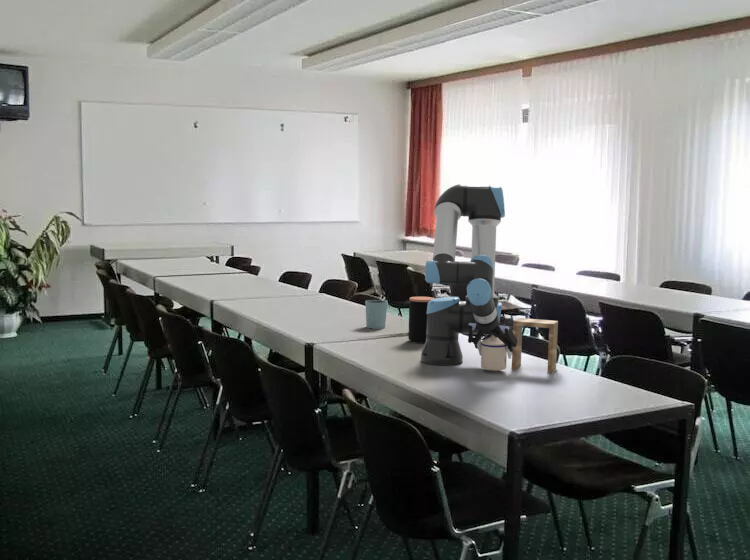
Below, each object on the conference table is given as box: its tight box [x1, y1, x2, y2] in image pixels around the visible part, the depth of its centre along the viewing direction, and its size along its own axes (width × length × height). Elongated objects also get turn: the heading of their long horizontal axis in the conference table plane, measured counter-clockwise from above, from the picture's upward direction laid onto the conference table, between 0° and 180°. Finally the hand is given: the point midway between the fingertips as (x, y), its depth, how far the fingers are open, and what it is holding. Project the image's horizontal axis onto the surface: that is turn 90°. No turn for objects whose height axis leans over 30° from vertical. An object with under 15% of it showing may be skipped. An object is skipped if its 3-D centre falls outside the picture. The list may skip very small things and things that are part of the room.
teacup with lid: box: [480, 334, 508, 372], centre depth 274 cm, size 12×9×12 cm
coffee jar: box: [407, 296, 436, 344], centre depth 327 cm, size 11×11×18 cm
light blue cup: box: [364, 299, 389, 330], centre depth 360 cm, size 10×10×12 cm
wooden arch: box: [511, 317, 559, 374], centre depth 278 cm, size 14×8×17 cm, turn 67°
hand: (496, 353), depth 277 cm, fingers closed on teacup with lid, 9 cm apart
